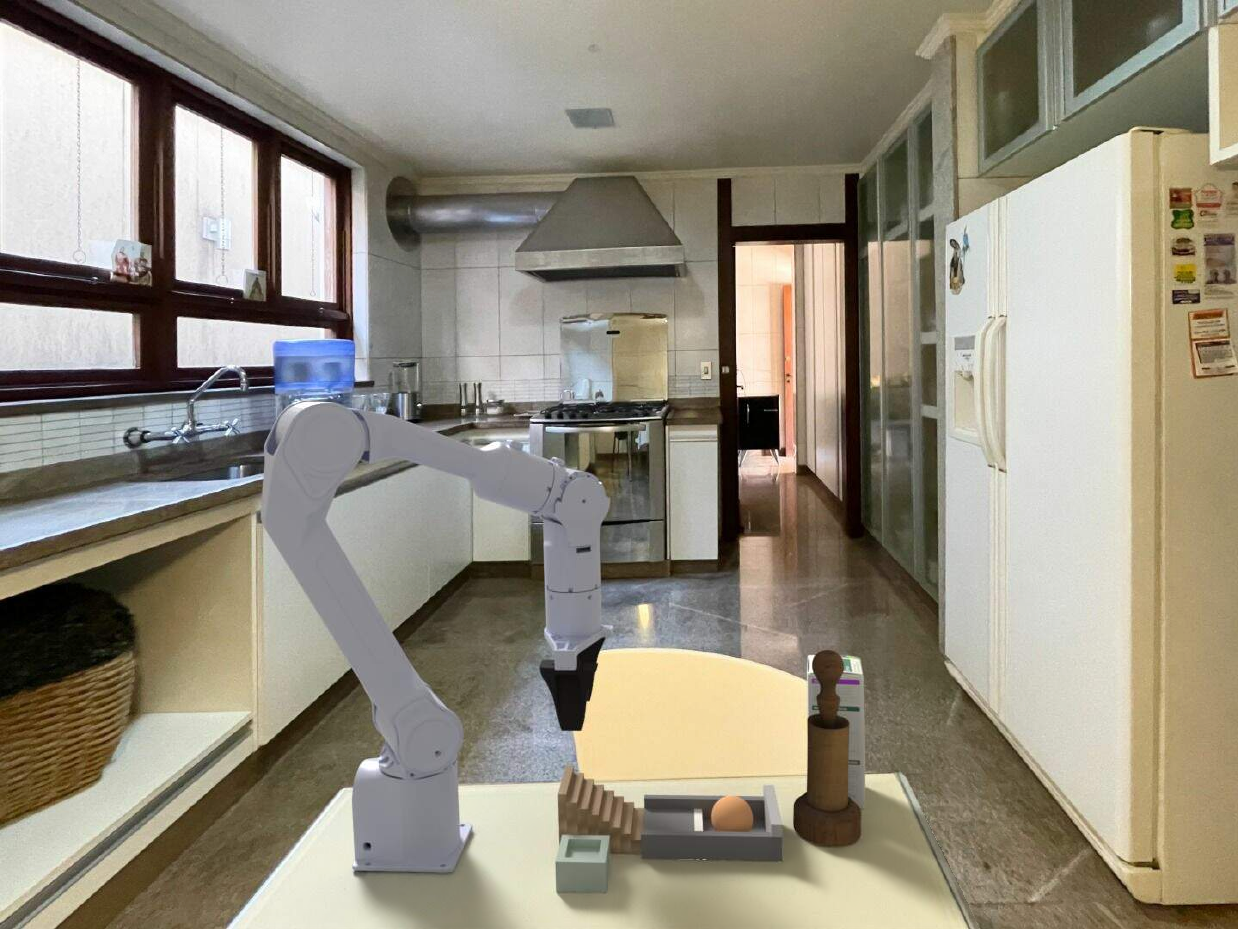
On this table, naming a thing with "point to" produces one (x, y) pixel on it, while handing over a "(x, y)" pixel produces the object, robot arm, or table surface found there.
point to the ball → (732, 815)
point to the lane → (709, 829)
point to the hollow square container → (583, 864)
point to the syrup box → (853, 711)
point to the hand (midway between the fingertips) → (576, 714)
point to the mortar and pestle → (827, 766)
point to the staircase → (598, 813)
